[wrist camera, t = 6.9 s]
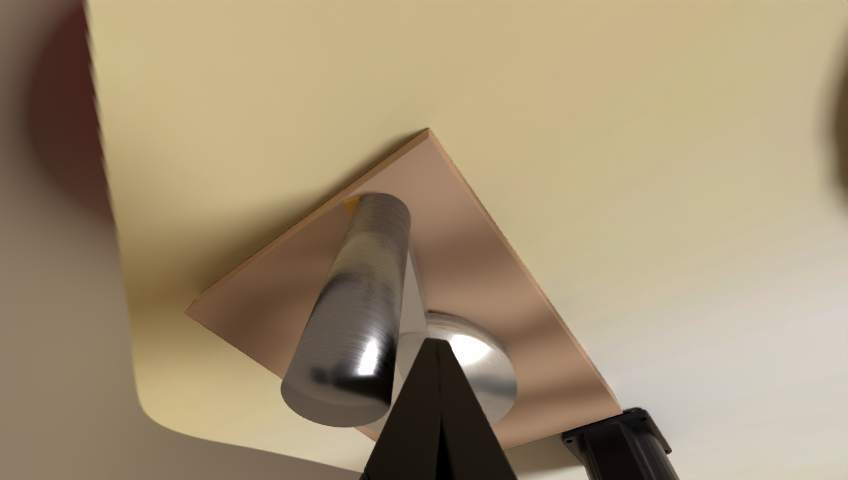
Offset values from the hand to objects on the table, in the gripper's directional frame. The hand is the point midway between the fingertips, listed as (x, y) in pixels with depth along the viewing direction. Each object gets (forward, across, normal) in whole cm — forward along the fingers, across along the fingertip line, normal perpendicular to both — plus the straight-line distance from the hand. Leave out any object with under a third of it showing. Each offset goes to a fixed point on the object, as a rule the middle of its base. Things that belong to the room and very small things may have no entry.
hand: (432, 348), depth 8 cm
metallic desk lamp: (+7, 0, +7) cm, 10 cm away
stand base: (+9, -1, +10) cm, 14 cm away
